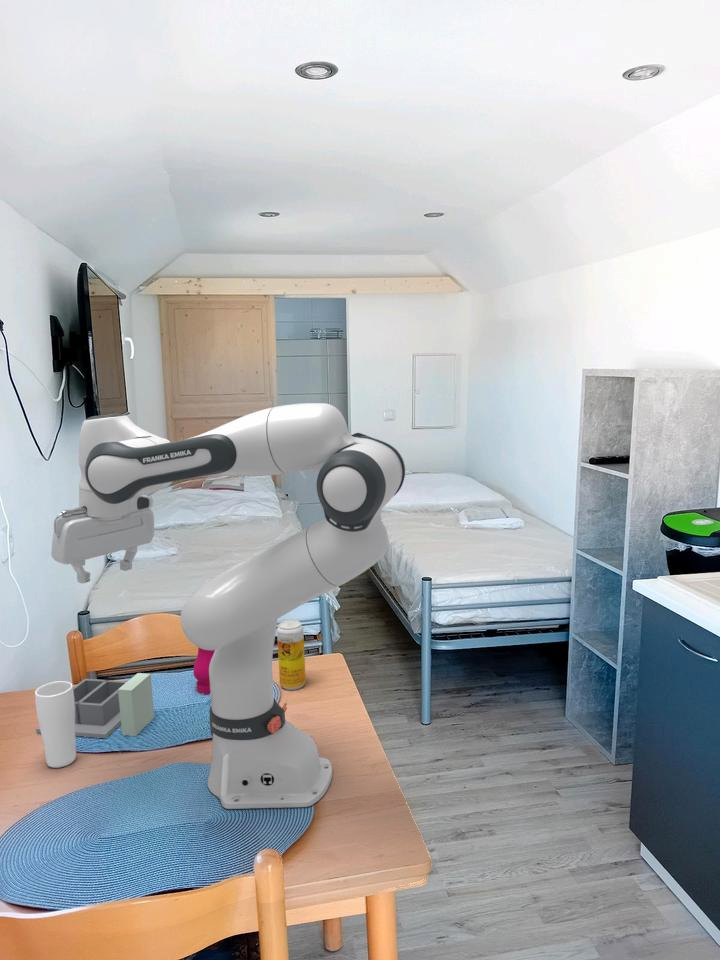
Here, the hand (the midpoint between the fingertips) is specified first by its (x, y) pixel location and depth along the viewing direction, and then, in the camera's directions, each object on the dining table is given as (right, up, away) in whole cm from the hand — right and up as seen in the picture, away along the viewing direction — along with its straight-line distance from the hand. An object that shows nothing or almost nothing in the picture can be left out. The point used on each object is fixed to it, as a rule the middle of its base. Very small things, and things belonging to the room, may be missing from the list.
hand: (105, 575), depth 130 cm
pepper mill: (+12, -32, +36) cm, 49 cm away
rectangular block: (0, -34, +19) cm, 39 cm away
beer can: (+31, -31, +36) cm, 57 cm away
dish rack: (-11, -34, +24) cm, 43 cm away
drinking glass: (-11, -37, +6) cm, 39 cm away
